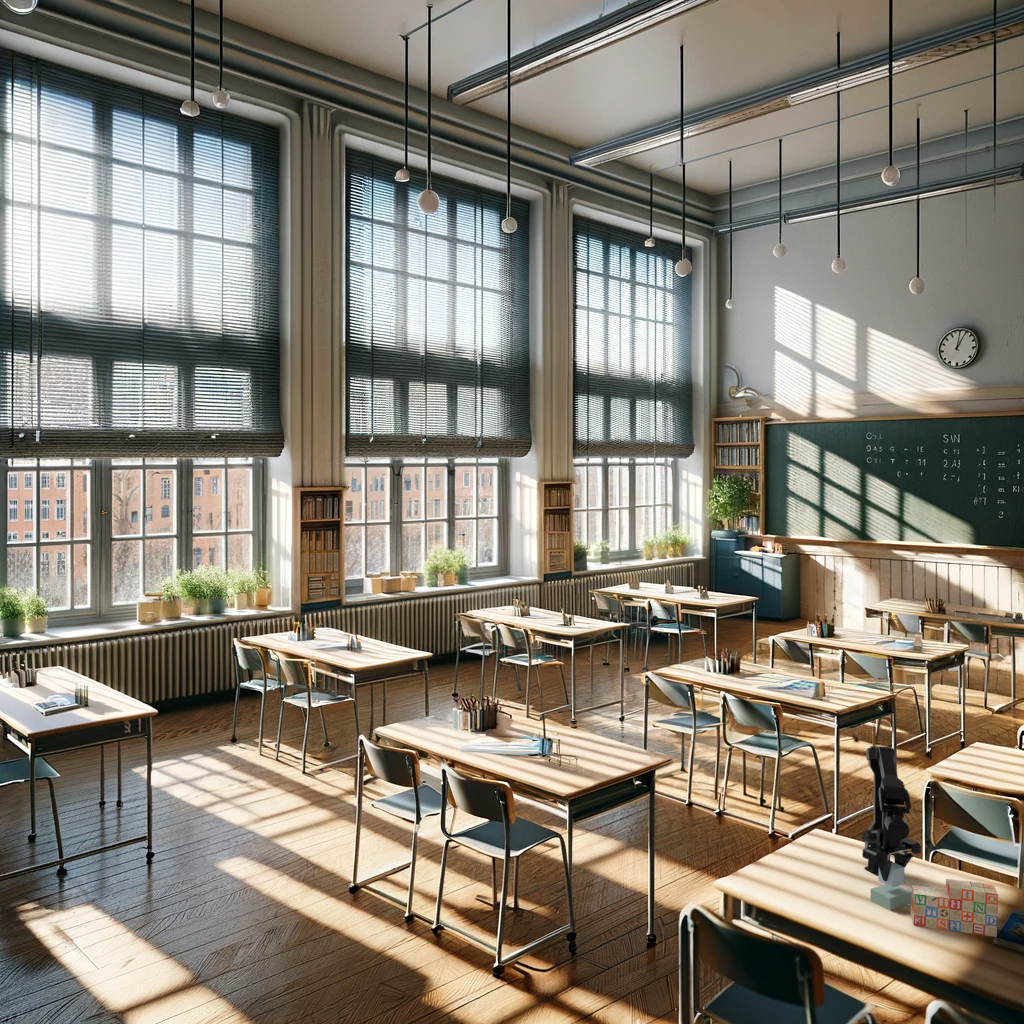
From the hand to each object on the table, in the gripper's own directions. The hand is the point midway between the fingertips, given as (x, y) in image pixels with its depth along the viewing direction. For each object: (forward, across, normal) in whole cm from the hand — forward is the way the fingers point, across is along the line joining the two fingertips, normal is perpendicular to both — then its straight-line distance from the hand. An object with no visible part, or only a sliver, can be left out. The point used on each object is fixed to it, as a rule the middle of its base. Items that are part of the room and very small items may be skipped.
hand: (891, 878), depth 275 cm
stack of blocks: (+7, -4, +18) cm, 20 cm away
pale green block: (+7, 0, 0) cm, 7 cm away
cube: (+1, 0, 0) cm, 1 cm away
